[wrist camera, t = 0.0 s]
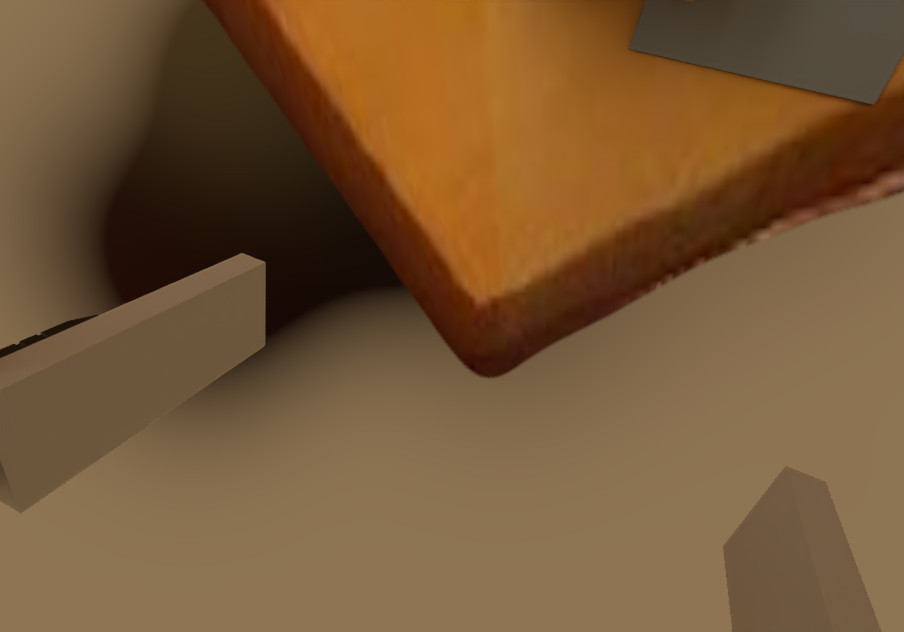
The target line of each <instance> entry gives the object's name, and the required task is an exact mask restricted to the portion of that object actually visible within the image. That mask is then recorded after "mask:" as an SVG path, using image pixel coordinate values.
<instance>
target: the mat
mask: <svg viewBox="0 0 904 632" xmlns="http://www.w3.org/2000/svg"><path fill="white" fill-rule="evenodd" d="M629 49H630V50H634V51H639V52H643V53H648V54H652V55H656V56H661V57H665V58H670V59H674V60H678V61H683V62H687V63H692V64H696V65H700V66H705V67H709V68H714V69H718V70H723V71H727V72H731V73H736V74H740V75H745V76H749V77H753V78H758V79H762V80H767V81H771V82H775V83H780V84H784V85H789V86H793V87H797V88H802V89H806V90H811V91H815V92H819V93H824V94H828V95H833V96H837V97H841V98H846V99H850V100H855V101H859V102H863V103H868V104H873V105H874V104H875V102H876V101H877V99H878V97H879V96H880V94H881V92H882V91H883V89H884V87H885V86H886V84H887V82H888V81H889V79H890V77H891V75H892V74H893V72H894V70H895V69H896V67H897V65H898V64H899V62H900V60H901V59H902V57H903V55H904V0H694V2H689V1H684V0H645V2H644V5H643V8H642V11H641V14H640V17H639V20H638V23H637V26H636V29H635V32H634V35H633V38H632V41H631V44H630V47H629Z"/></svg>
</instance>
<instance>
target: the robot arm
mask: <svg viewBox="0 0 904 632" xmlns="http://www.w3.org/2000/svg"><path fill="white" fill-rule="evenodd" d="M264 346H265V262H263V261H260V260H258V259H255V258H253V257H250V256H248V255H245V254H243V253H241V254H239V255H237V256H235V257H233V258H230V259H228V260H225V261H223V262H221V263H218V264H216V265H214V266H212V267H209V268H207V269H205V270H202V271H200V272H198V273H196V274H193V275H191V276H188V277H186V278H184V279H182V280H179V281H177V282H175V283H172V284H170V285H168V286H165V287H163V288H161V289H159V290H156V291H154V292H152V293H150V294H147V295H145V296H143V297H140V298H138V299H136V300H133V301H131V302H129V303H126V304H124V305H122V306H120V307H117V308H115V309H113V310H111V311H108V312H106V313H104V314H101V315H94V316H89V317H84V318H80V319H75V320H71V321H67V322H65V323H62V324H60V325H57V326H55V327H53V328H50V329H48V330H46V331H43V332H42V333H41V335H39V336H38V335H34V336H32V337H29V338H27V339H24V340H22V341H20V343H19V344H18V345H15V344H12V345H10V346H8V347H5V348H3V349H0V501H2V502H3V503H5V504H6V505H8V506H10V507H11V508H13V509H15V510H16V511H18V512H19V513H22V512H23V511H25V510H26V509H28V508H29V507H31V506H32V505H34V504H35V503H36V502H38V501H39V500H41V499H42V498H44V497H45V496H47V495H48V494H49V493H51V492H53V491H54V490H55V489H57V488H58V487H60V486H61V485H63V484H64V483H66V482H67V481H69V480H70V479H71V478H73V477H74V476H75V475H77V474H79V473H80V472H82V471H83V470H85V469H86V468H88V467H89V466H90V465H92V464H93V463H95V462H96V461H98V460H99V459H101V458H102V457H103V456H105V455H106V454H108V453H109V452H111V451H112V450H114V449H115V448H117V447H118V446H120V445H121V444H122V443H124V442H125V441H127V440H128V439H130V438H131V437H133V436H134V435H135V434H137V433H138V432H140V431H141V430H143V429H144V428H146V427H147V426H148V425H150V424H152V423H153V422H154V421H156V420H157V419H159V418H160V417H162V416H163V415H164V414H166V413H168V412H169V411H171V410H172V409H173V408H175V407H176V406H178V405H179V404H181V403H182V402H184V401H185V400H186V399H188V398H189V397H190V396H192V395H194V394H195V393H197V392H198V391H200V390H201V389H203V388H204V387H205V386H207V385H208V384H210V383H211V382H212V381H214V380H216V379H217V378H218V377H220V376H221V375H223V374H224V373H226V372H227V371H229V370H230V369H232V368H233V367H235V366H236V365H237V364H239V363H240V362H242V361H243V360H245V359H246V358H248V357H249V356H251V355H252V354H254V353H255V352H256V351H258V350H259V349H261V348H262V347H264ZM723 550H724V559H725V568H726V577H727V586H728V595H729V604H730V613H731V622H732V631H733V632H881V629H880V627H879V624H878V621H877V619H876V616H875V613H874V611H873V608H872V605H871V602H870V600H869V597H868V595H867V592H866V589H865V586H864V584H863V582H862V578H861V576H860V573H859V570H858V568H857V565H856V562H855V560H854V557H853V554H852V552H851V549H850V547H849V544H848V541H847V538H846V536H845V533H844V530H843V528H842V525H841V522H840V520H839V517H838V514H837V511H836V509H835V506H834V503H833V501H832V498H831V495H830V493H829V490H828V487H827V485H826V482H825V481H822V480H819V479H817V478H814V477H812V476H809V475H807V474H804V473H801V472H799V471H796V470H794V469H791V468H789V467H785V468H784V469H783V470H782V472H781V473H780V474H779V475H778V477H777V478H776V479H775V481H774V482H773V483H772V485H771V486H770V487H769V488H768V490H767V491H766V492H765V494H764V495H763V496H762V497H761V498H760V500H759V501H758V502H757V504H756V505H755V506H754V508H753V509H752V510H751V511H750V513H749V514H748V515H747V517H746V518H745V519H744V520H743V521H742V523H741V524H740V525H739V527H738V528H737V529H736V531H735V532H734V533H733V534H732V536H731V537H730V538H729V540H728V541H727V542H726V543H725V545H724V546H723Z"/></svg>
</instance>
